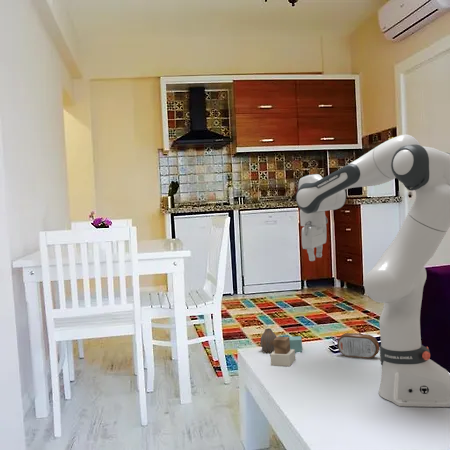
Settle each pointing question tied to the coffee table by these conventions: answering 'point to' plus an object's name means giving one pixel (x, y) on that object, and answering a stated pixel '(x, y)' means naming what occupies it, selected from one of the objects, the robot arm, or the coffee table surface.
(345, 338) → the tin
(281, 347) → the walnut block
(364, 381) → the coffee table surface
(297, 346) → the teal cube
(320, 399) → the coffee table surface
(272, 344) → the vase
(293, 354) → the limestone block
